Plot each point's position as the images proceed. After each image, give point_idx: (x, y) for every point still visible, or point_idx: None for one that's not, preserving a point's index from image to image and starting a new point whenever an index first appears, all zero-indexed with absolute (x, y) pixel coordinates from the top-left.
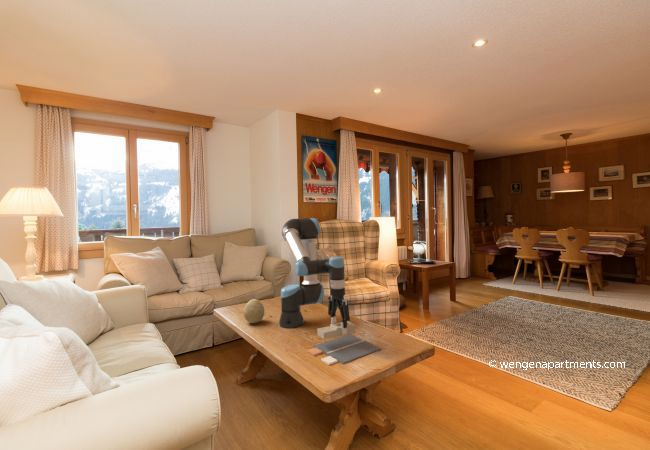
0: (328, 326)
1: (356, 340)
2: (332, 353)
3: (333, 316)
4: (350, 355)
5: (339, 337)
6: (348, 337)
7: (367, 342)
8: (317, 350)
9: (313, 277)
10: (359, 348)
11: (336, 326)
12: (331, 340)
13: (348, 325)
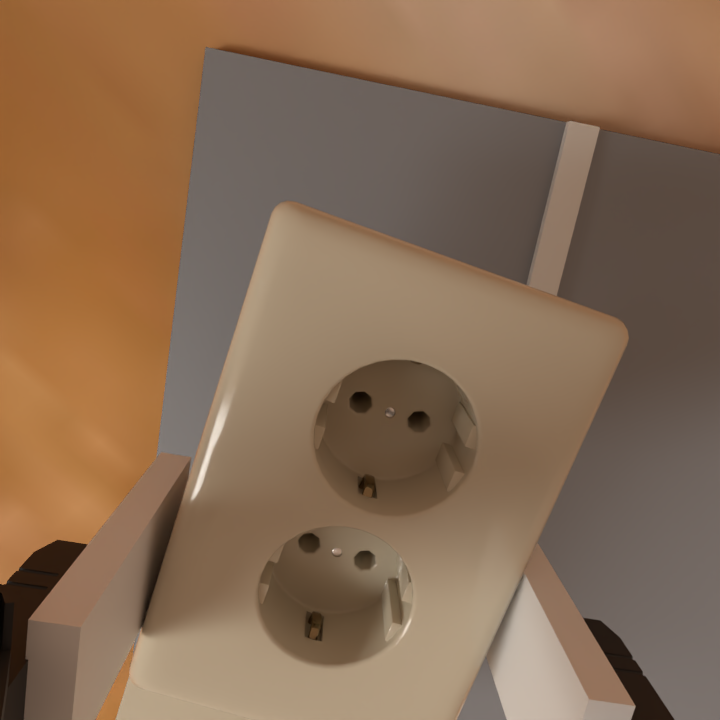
0: (131, 702)
1: (471, 206)
2: (473, 704)
3: (20, 705)
4: (679, 616)
5: (185, 289)
6: (295, 194)
7: (654, 156)
8: None
9: None
10: (666, 402)
11: (356, 711)
12: (178, 448)
13: (547, 494)
